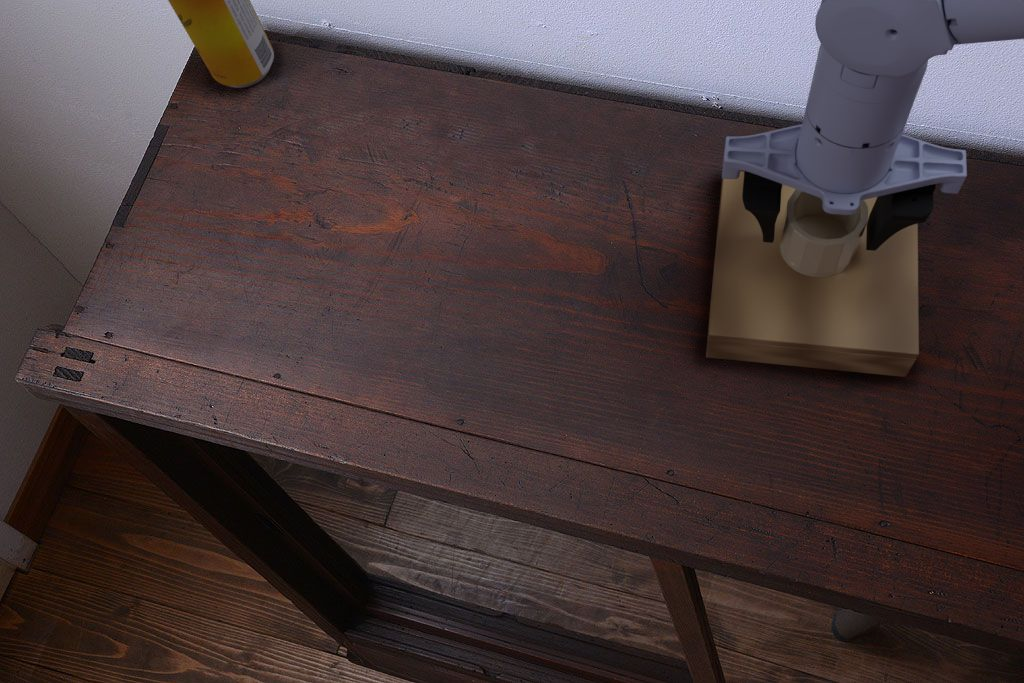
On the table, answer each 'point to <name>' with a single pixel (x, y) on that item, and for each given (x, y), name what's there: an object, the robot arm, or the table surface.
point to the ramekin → (819, 236)
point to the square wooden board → (811, 299)
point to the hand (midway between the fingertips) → (819, 234)
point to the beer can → (227, 39)
